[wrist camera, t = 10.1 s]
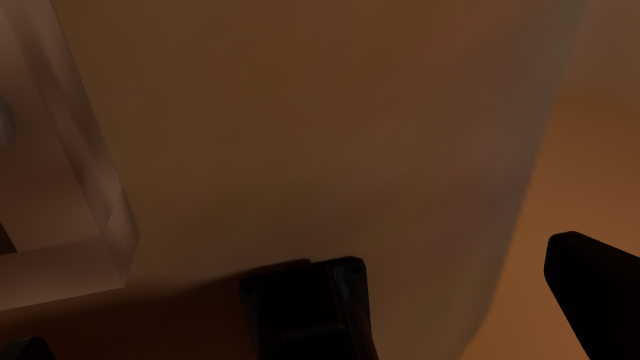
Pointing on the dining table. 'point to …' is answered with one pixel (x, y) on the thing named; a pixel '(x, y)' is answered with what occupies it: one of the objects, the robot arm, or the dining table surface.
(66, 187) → the grey flat frame
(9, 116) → the hook rod
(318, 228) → the dining table surface
